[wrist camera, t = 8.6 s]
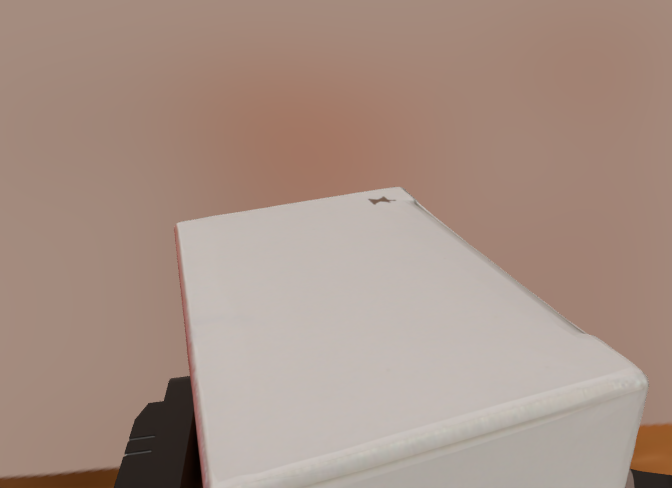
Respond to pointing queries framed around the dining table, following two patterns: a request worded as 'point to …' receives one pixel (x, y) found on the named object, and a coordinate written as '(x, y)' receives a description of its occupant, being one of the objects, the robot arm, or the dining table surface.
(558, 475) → the small box
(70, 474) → the dining table surface
